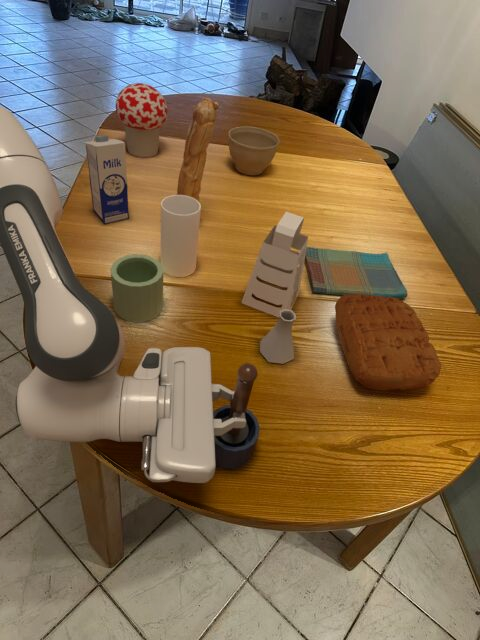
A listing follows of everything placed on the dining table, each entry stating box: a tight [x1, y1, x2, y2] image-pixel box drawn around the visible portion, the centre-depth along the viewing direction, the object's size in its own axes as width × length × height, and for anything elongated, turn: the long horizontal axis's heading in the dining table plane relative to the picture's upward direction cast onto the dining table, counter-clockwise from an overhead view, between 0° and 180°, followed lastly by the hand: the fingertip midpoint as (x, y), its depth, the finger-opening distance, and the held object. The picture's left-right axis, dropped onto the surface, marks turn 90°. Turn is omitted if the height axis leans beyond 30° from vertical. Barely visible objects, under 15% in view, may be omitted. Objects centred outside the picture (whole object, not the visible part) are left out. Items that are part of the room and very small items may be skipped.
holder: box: [213, 404, 261, 470], centre depth 65 cm, size 8×8×6 cm
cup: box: [159, 194, 202, 278], centre depth 92 cm, size 8×8×16 cm
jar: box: [110, 253, 165, 323], centre depth 84 cm, size 10×10×10 cm
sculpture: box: [176, 97, 220, 204], centre depth 102 cm, size 7×9×30 cm
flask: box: [259, 309, 297, 365], centre depth 80 cm, size 7×7×10 cm
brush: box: [216, 362, 259, 447], centre depth 60 cm, size 5×5×19 cm
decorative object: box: [115, 82, 168, 158], centre depth 131 cm, size 16×16×20 cm
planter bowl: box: [228, 126, 280, 176], centre depth 136 cm, size 16×16×11 cm
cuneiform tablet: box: [334, 294, 442, 391], centre depth 84 cm, size 22×17×8 cm
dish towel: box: [304, 246, 408, 300], centre depth 104 cm, size 17×23×2 cm
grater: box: [240, 211, 309, 318], centre depth 88 cm, size 10×10×20 cm
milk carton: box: [84, 134, 130, 225], centre depth 102 cm, size 7×7×20 cm
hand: (244, 409), depth 60 cm, fingers closed on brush, 2 cm apart
